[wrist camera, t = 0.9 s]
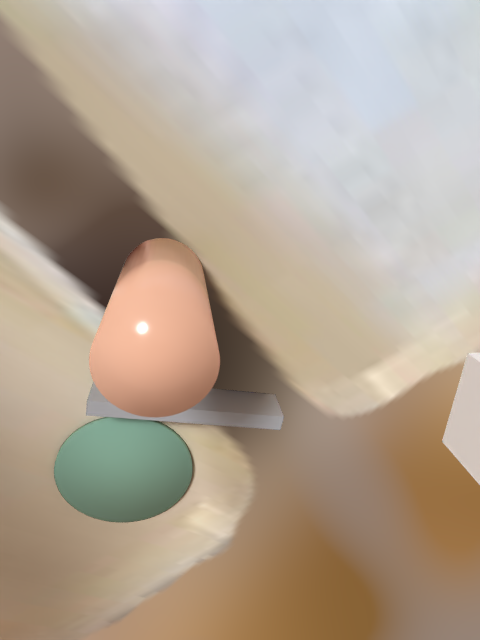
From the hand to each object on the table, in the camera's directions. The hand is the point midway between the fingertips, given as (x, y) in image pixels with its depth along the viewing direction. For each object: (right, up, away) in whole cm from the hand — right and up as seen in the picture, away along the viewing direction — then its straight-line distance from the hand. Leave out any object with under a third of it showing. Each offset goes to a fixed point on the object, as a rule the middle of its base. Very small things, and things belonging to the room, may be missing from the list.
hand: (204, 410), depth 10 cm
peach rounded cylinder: (-4, +5, +19) cm, 20 cm away
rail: (-3, -4, +23) cm, 23 cm away
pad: (-9, -10, +25) cm, 28 cm away
